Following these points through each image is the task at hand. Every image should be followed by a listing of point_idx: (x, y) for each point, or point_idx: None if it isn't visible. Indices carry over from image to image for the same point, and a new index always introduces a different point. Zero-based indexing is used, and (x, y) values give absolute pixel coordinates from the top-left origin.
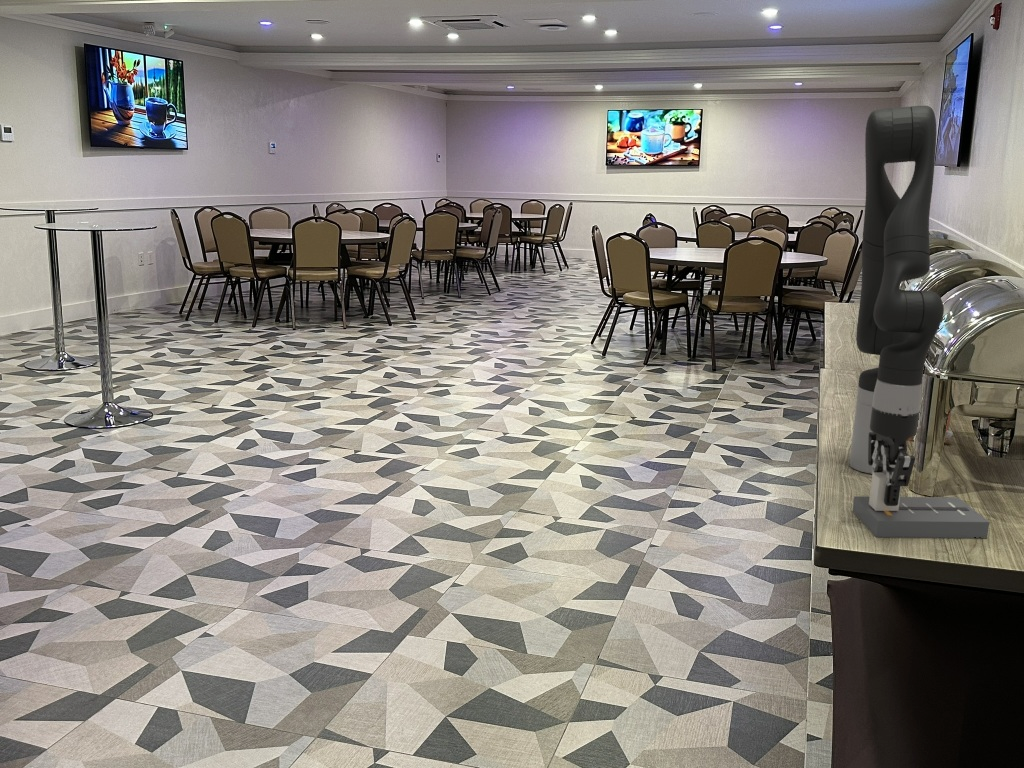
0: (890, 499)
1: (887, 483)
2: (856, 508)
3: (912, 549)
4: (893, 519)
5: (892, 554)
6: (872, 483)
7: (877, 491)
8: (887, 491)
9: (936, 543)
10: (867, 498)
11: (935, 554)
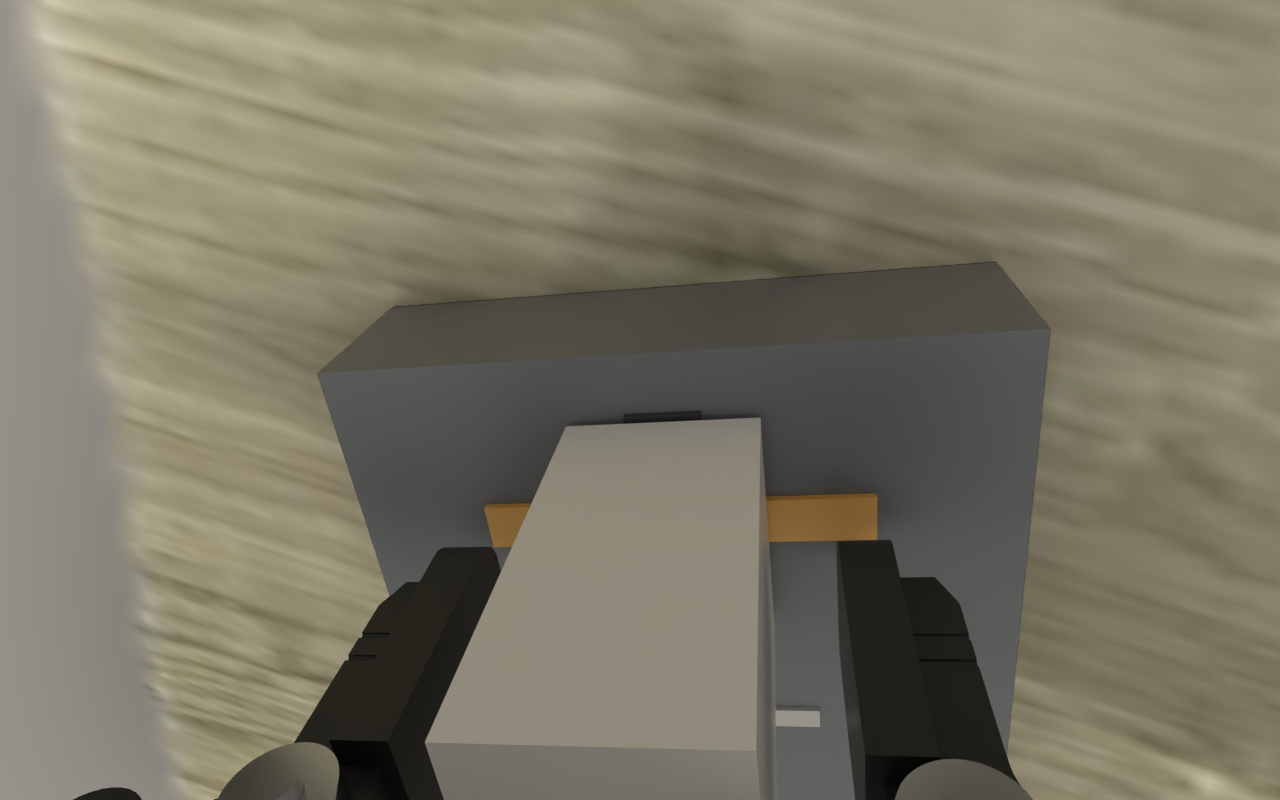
0: (366, 628)
1: (259, 767)
2: (908, 294)
3: (251, 495)
4: (403, 520)
5: (100, 330)
6: (713, 601)
7: (509, 570)
8: (373, 674)
9: None
10: (968, 460)
11: (225, 600)
